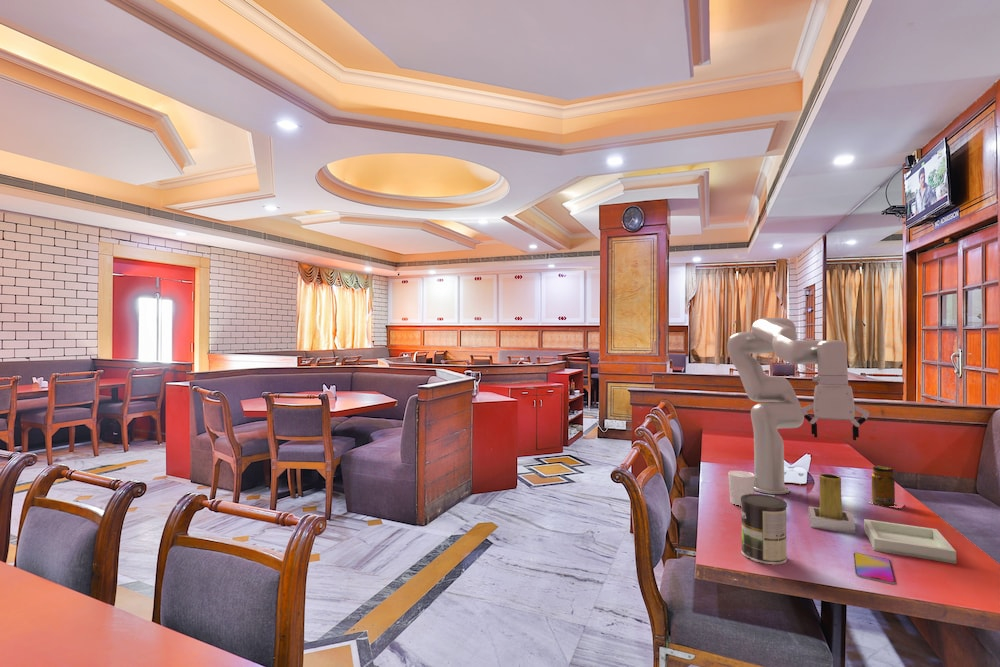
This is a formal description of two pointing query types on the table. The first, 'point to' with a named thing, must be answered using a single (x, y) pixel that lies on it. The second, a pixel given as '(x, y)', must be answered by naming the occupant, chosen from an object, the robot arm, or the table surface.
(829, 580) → the table surface
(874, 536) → the beige tray
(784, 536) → the coffee can
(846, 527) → the white square dish
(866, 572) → the smartphone
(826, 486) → the vase
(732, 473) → the white cup
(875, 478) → the condiment
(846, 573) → the table surface
